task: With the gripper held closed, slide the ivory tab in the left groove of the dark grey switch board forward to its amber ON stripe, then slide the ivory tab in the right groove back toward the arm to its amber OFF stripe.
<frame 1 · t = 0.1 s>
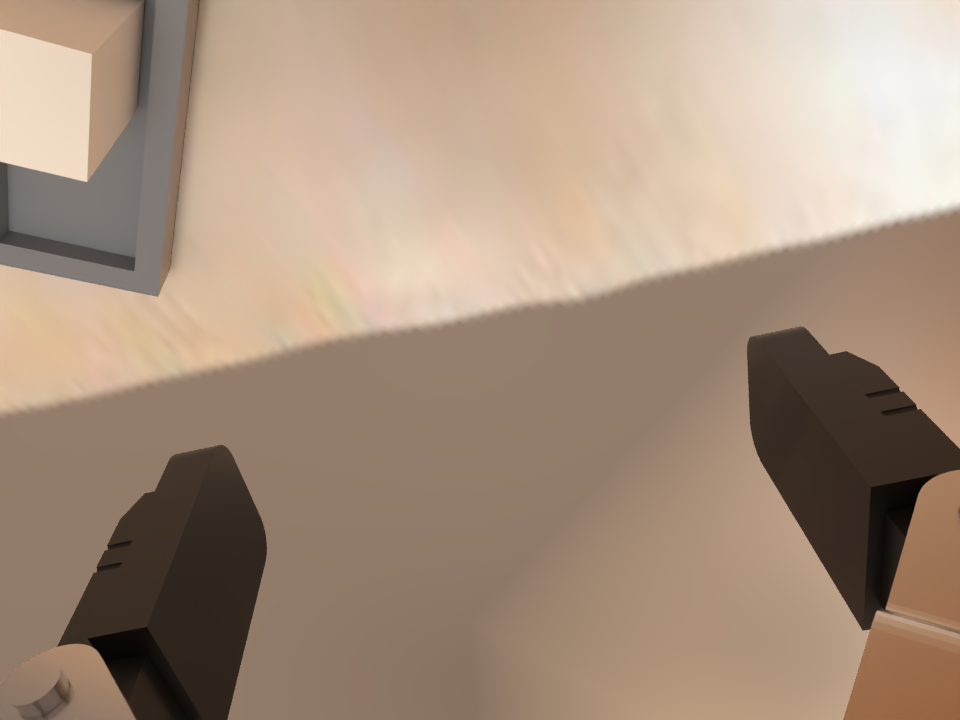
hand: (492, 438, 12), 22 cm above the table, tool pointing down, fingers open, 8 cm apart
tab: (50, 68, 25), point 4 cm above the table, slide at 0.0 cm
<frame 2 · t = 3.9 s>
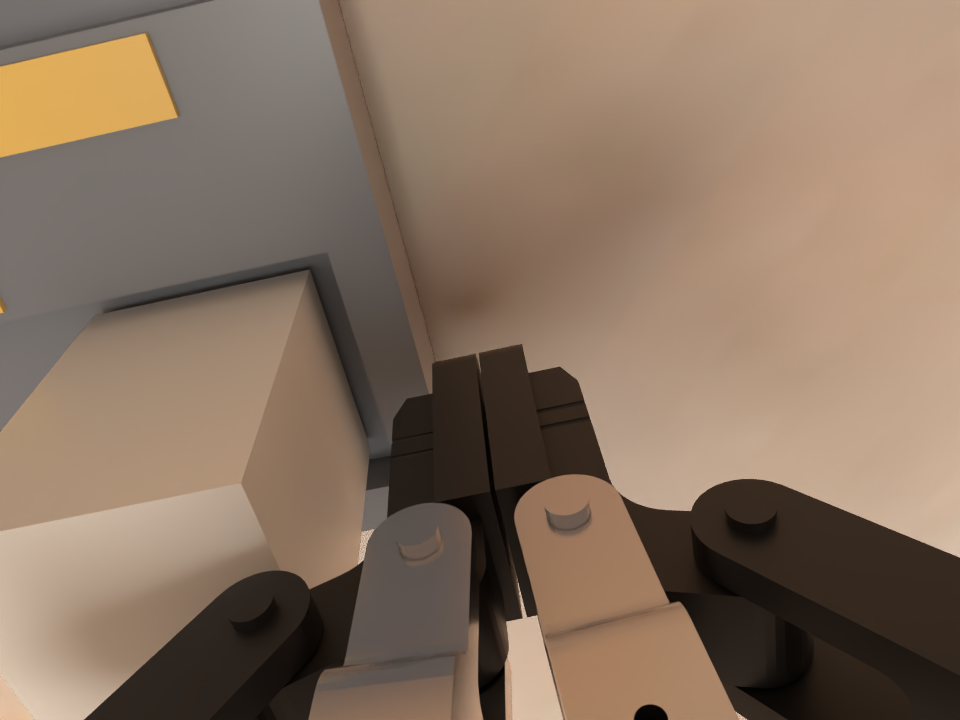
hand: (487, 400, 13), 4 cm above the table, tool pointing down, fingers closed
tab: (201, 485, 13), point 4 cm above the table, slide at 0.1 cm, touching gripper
switch board: (13, 168, 14), on the table
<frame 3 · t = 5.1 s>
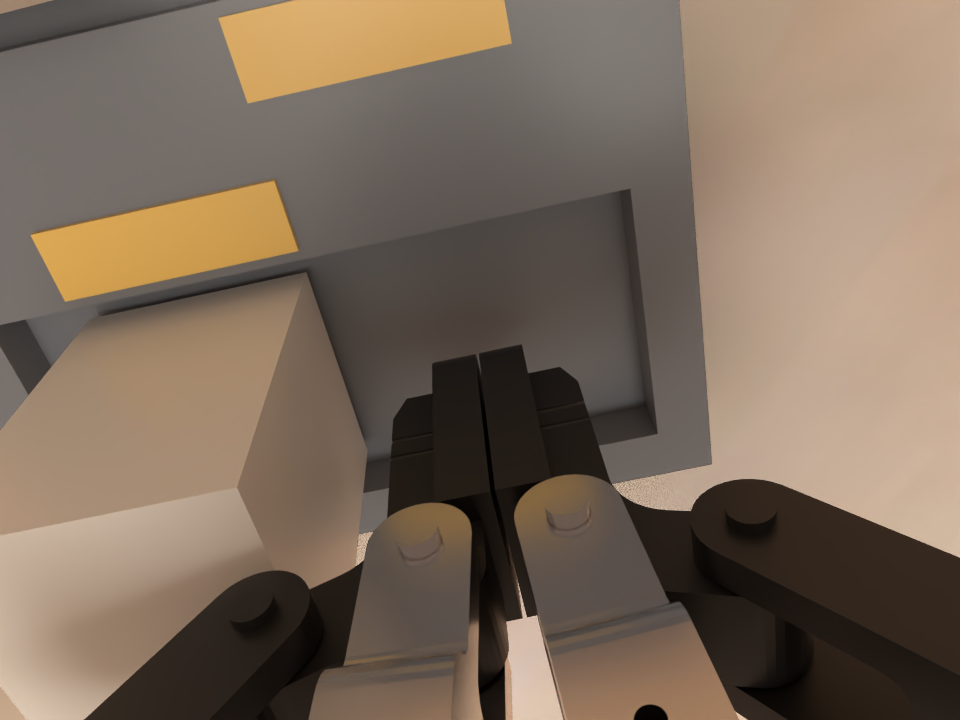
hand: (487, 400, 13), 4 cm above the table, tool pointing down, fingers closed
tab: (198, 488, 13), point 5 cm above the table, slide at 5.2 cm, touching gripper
switch board: (284, 109, 14), on the table
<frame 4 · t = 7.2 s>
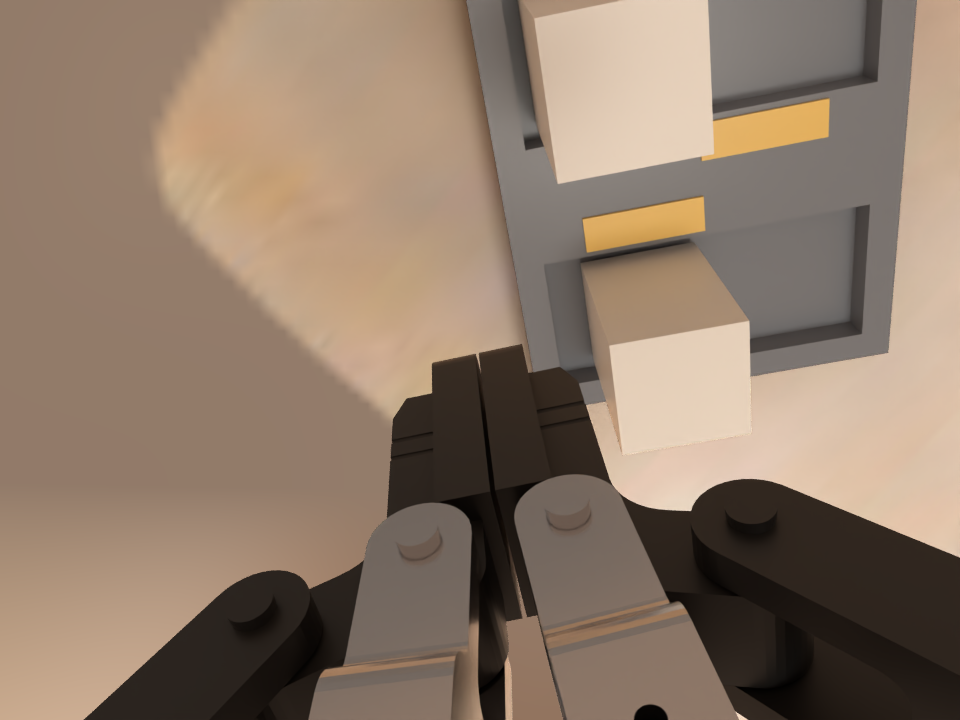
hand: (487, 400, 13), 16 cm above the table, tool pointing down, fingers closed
switch board: (684, 158, 28), on the table
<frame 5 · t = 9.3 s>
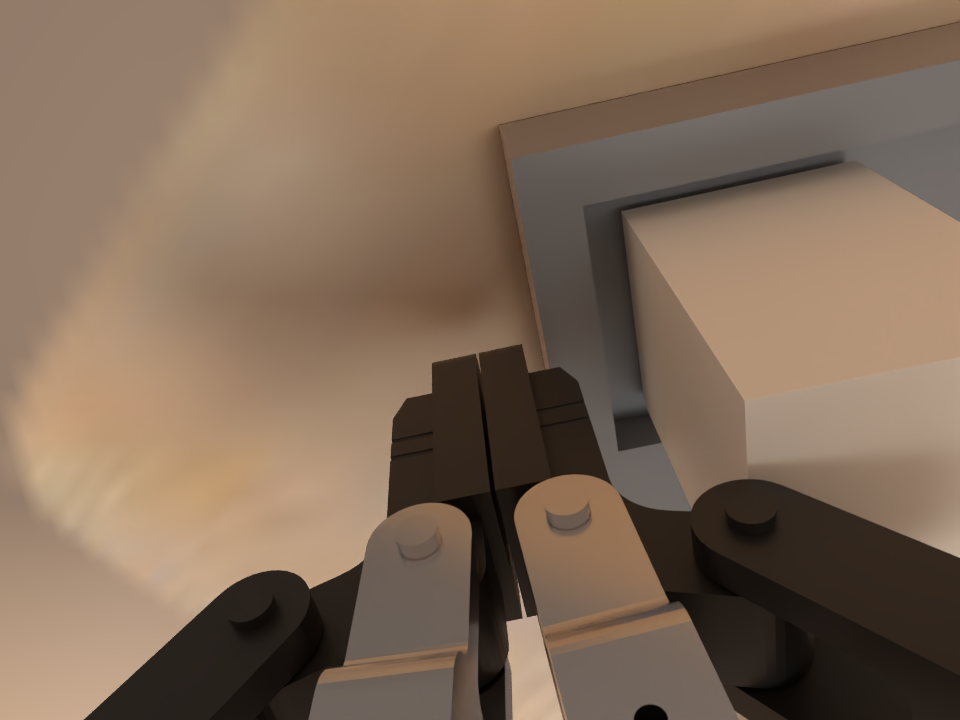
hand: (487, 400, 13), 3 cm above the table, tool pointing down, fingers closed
switch board: (848, 414, 18), on the table
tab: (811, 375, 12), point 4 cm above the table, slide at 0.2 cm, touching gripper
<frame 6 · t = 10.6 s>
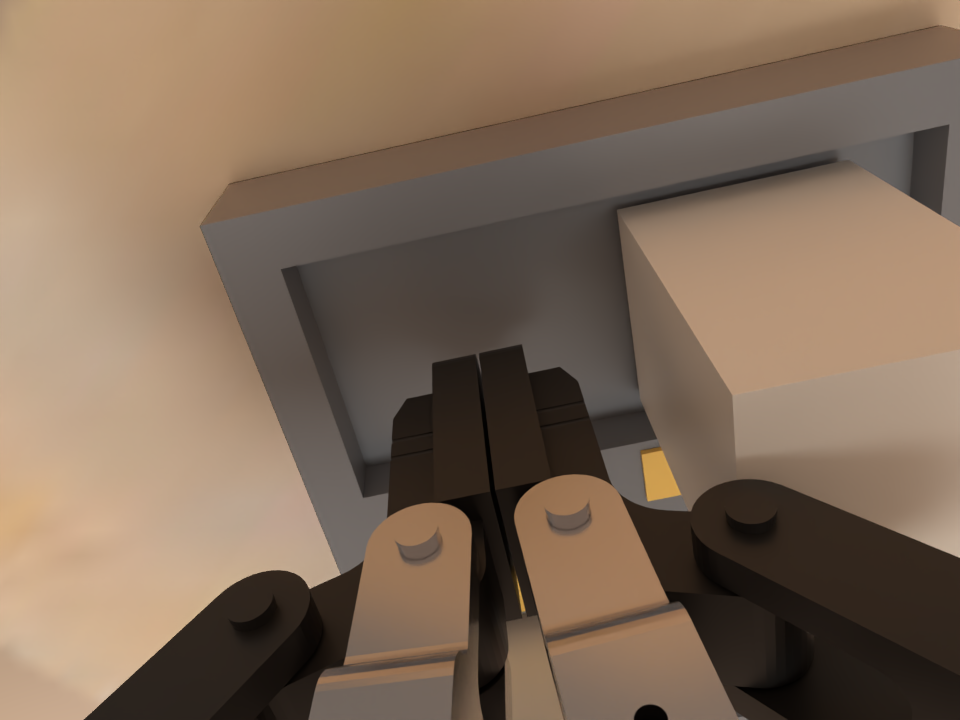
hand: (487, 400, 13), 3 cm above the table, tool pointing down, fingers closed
switch board: (625, 455, 18), on the table
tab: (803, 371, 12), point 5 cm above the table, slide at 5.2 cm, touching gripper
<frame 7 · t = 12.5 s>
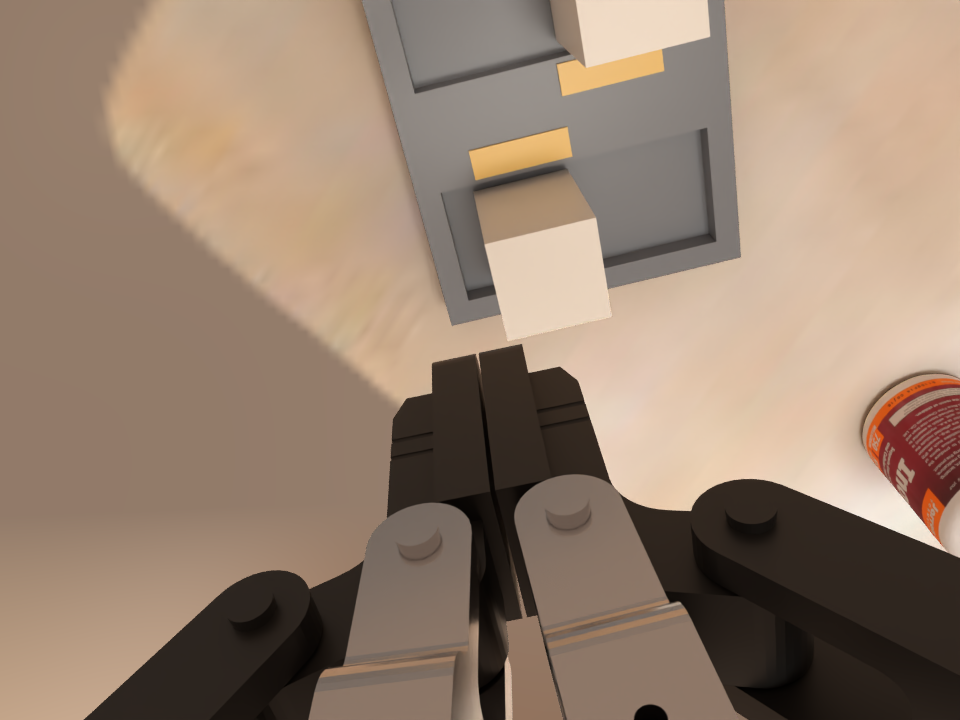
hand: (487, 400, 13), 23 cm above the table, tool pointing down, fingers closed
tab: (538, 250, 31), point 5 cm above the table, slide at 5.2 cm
switch board: (555, 99, 33), on the table
pill bottle: (913, 417, 43), on the table
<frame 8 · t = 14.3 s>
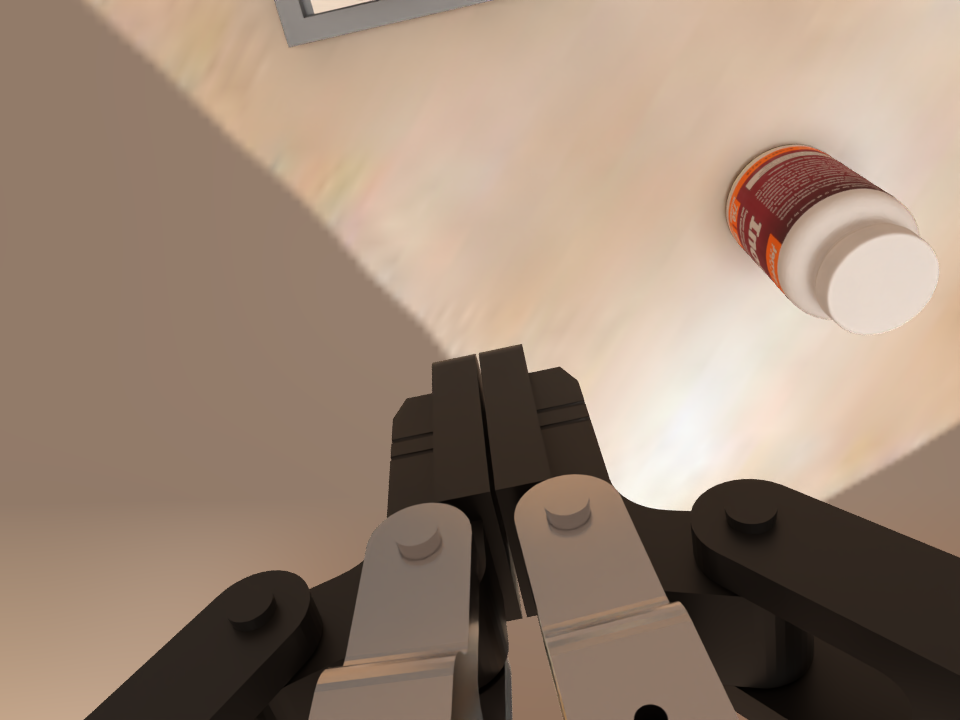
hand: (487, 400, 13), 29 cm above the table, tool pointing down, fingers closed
pill bottle: (778, 198, 43), on the table
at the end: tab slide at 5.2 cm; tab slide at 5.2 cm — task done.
